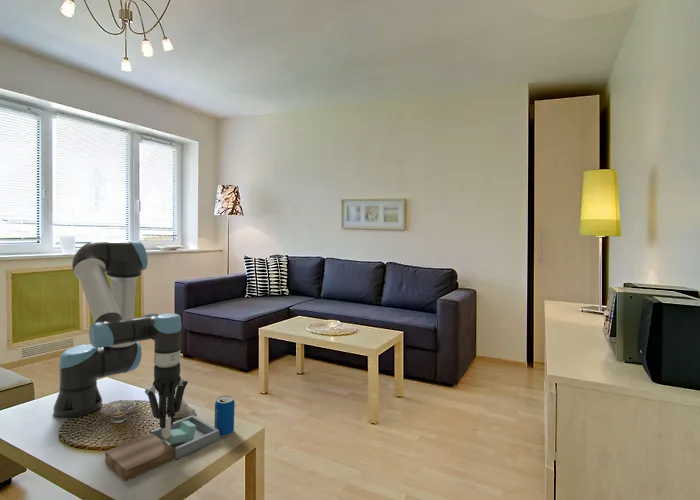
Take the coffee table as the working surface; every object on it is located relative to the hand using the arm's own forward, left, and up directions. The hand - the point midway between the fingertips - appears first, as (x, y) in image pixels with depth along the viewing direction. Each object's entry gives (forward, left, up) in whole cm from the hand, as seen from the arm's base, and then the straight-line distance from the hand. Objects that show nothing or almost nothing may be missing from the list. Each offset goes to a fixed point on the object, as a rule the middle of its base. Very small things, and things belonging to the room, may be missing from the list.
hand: (166, 436), depth 126 cm
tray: (0, +7, -4) cm, 8 cm away
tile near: (0, +3, -2) cm, 4 cm away
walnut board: (0, -8, -4) cm, 9 cm away
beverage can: (+5, +18, -4) cm, 19 cm away
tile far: (0, +6, -1) cm, 6 cm away
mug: (-16, +15, -5) cm, 22 cm away
